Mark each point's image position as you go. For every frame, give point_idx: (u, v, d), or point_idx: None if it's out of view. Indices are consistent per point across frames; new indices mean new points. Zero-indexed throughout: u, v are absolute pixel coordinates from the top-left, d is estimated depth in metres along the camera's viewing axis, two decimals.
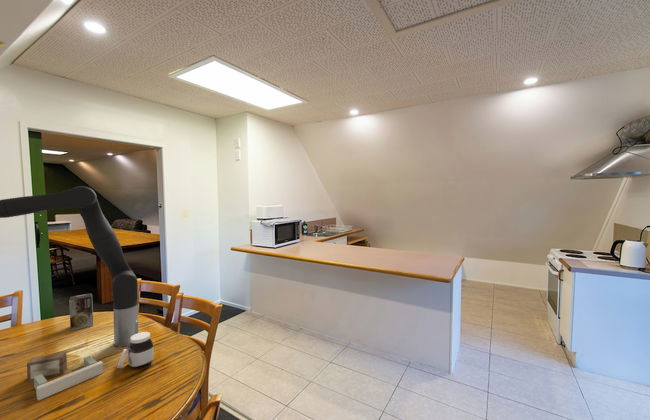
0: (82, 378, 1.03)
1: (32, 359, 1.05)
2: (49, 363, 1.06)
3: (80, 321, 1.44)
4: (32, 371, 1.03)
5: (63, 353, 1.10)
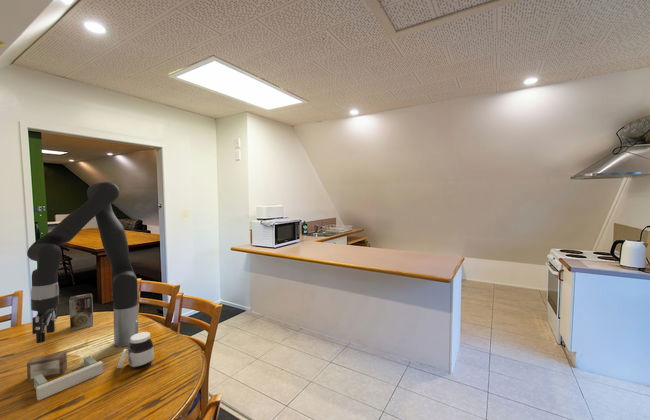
0: (82, 378, 1.03)
1: (32, 359, 1.05)
2: (49, 363, 1.06)
3: (80, 321, 1.44)
4: (32, 371, 1.03)
5: (63, 353, 1.10)
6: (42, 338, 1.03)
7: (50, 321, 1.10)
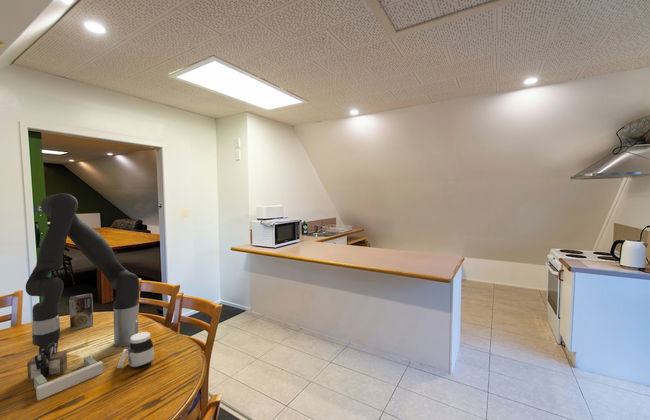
0: (82, 378, 1.03)
1: (32, 358, 1.06)
2: (49, 362, 1.06)
3: (80, 321, 1.44)
4: (32, 370, 1.04)
5: (63, 353, 1.10)
6: (47, 372, 1.05)
7: None
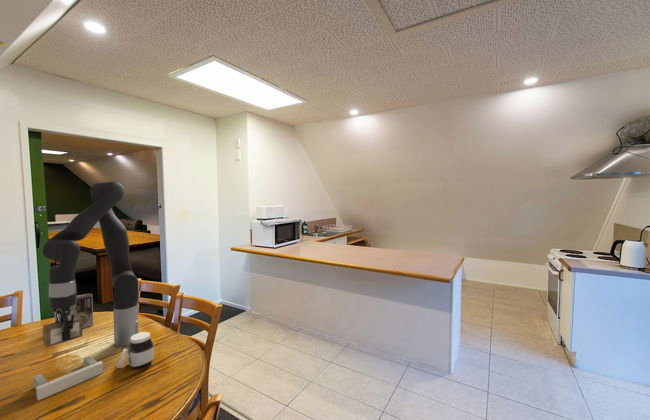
0: (82, 378, 1.03)
1: (46, 325, 1.01)
2: None
3: None
4: (52, 335, 1.01)
5: (77, 317, 1.09)
6: None
7: None
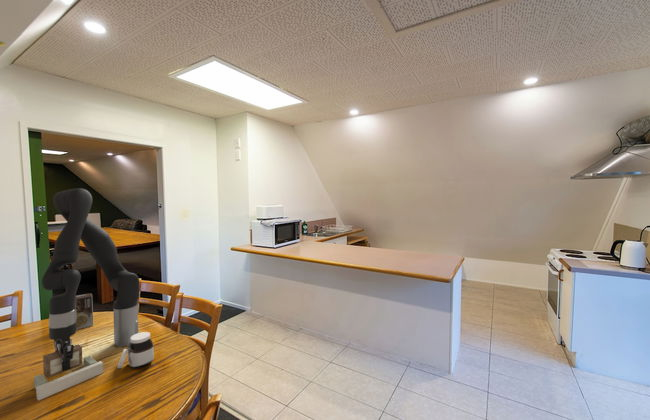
0: (82, 378, 1.03)
1: (46, 356, 1.02)
2: None
3: (80, 321, 1.44)
4: (52, 366, 1.01)
5: (77, 345, 1.09)
6: (68, 365, 1.04)
7: None
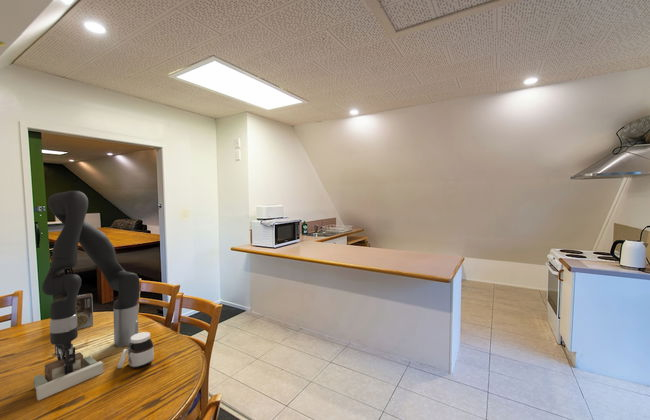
0: (82, 378, 1.03)
1: (48, 365, 1.02)
2: None
3: (80, 321, 1.44)
4: (54, 375, 1.01)
5: (79, 353, 1.09)
6: (71, 369, 1.04)
7: None
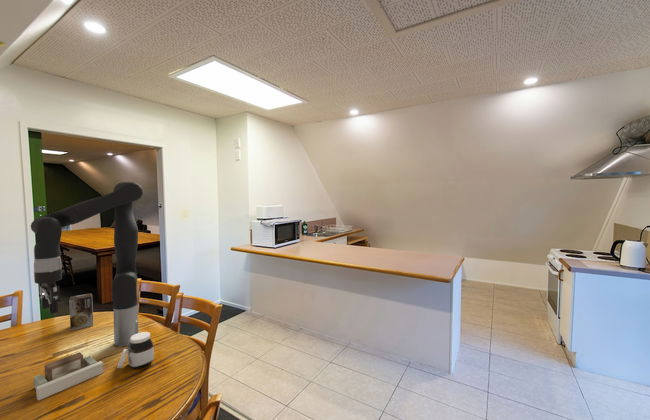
0: (82, 378, 1.03)
1: (48, 365, 1.02)
2: (71, 364, 1.05)
3: (80, 321, 1.44)
4: (54, 375, 1.01)
5: (79, 353, 1.10)
6: (56, 308, 1.06)
7: (45, 297, 1.10)
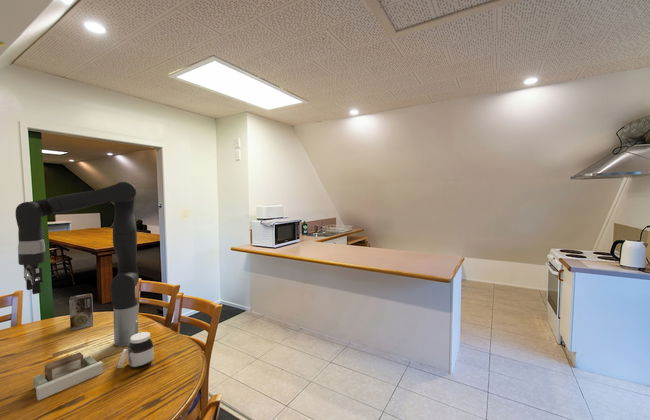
0: (82, 378, 1.03)
1: (48, 365, 1.02)
2: (71, 364, 1.05)
3: (80, 321, 1.44)
4: (54, 375, 1.01)
5: (79, 353, 1.10)
6: None
7: None
